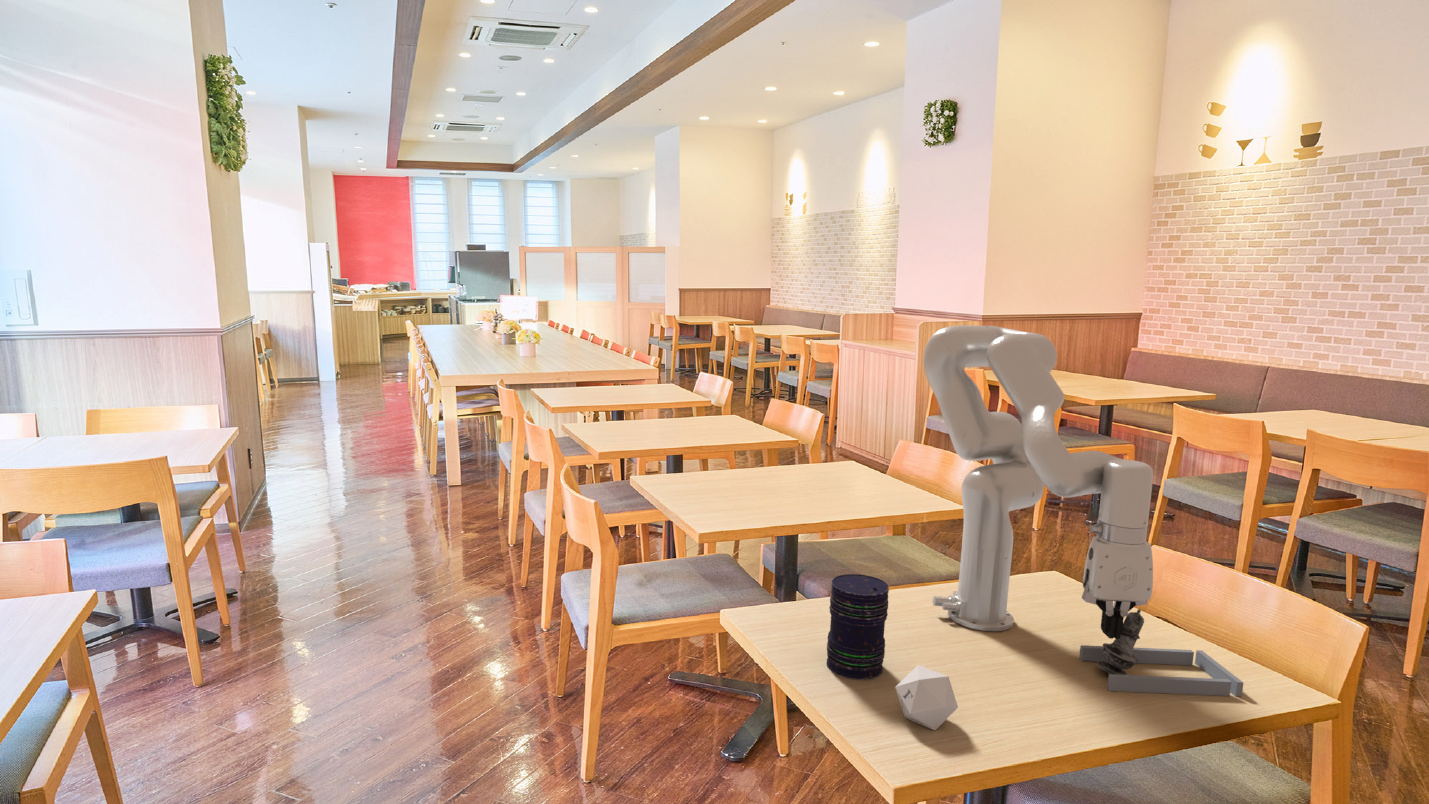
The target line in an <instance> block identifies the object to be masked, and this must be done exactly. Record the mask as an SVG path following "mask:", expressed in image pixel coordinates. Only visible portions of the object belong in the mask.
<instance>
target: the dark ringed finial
mask: <svg viewBox="0 0 1429 804" xmlns="http://www.w3.org/2000/svg"><path fill="white" fill-rule="evenodd" d="M1141 612H1142V611H1141V608H1139V609H1136V611H1134V612H1133V611H1129V612H1128V614H1127V616H1125V619H1124V620H1123V628H1122V632H1120V638H1119V639H1115V638H1114V640H1113V641H1112V642H1111V643H1107V642H1106V643H1105V642H1104V643H1103V644H1102V646H1103V647H1104V648H1103V657H1104V659H1105V660H1106V661H1107V662H1105V661H1096V665H1097V666H1098V667H1099V668H1100V669H1101V670H1103V671H1104V672H1106V673H1108V675H1109V674H1119V675H1128V674H1127V673H1126V670H1130V669H1131V668H1132V667H1134V665H1135V664H1138V663H1137V662H1138V659H1137V658H1136V657H1135V656H1134V655H1133V648H1135V645H1136V642H1137V640H1140V639H1141V637H1140V632H1141V631H1142V628H1143V626H1144V624H1145V618H1144V617H1143V616H1142V615H1141Z"/></svg>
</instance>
